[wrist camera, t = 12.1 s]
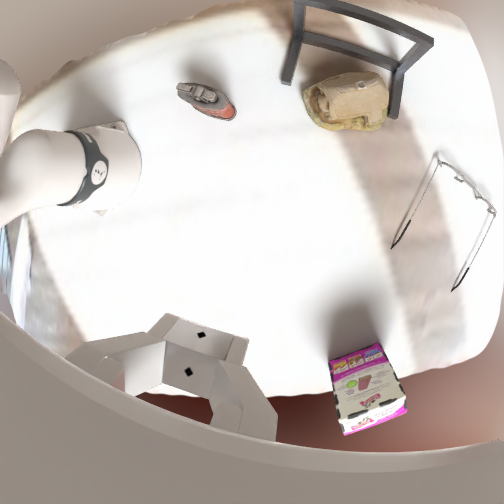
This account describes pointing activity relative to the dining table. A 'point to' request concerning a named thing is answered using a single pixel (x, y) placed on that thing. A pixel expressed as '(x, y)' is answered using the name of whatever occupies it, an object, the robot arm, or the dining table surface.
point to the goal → (331, 3)
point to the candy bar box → (366, 389)
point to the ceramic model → (348, 101)
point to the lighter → (207, 100)
